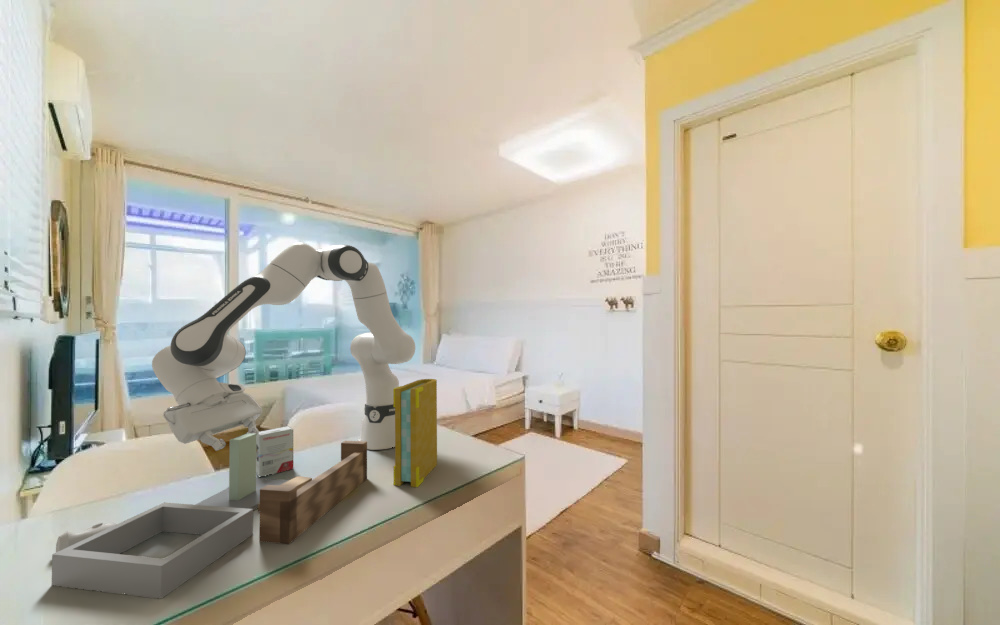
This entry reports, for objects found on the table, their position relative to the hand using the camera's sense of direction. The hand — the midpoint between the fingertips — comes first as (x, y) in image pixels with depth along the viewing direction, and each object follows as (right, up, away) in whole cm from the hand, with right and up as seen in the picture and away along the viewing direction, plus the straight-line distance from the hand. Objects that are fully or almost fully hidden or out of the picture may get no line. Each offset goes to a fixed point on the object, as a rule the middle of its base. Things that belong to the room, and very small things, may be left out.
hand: (239, 441), depth 87 cm
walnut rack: (+22, -14, -4) cm, 26 cm away
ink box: (-2, -15, +16) cm, 22 cm away
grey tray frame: (+2, -13, -22) cm, 26 cm away
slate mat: (+1, -14, 0) cm, 14 cm away
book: (+41, -14, +14) cm, 45 cm away
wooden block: (+13, -14, -1) cm, 19 cm away
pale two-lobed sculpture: (-16, -14, -18) cm, 28 cm away
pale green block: (+1, -13, 0) cm, 13 cm away
